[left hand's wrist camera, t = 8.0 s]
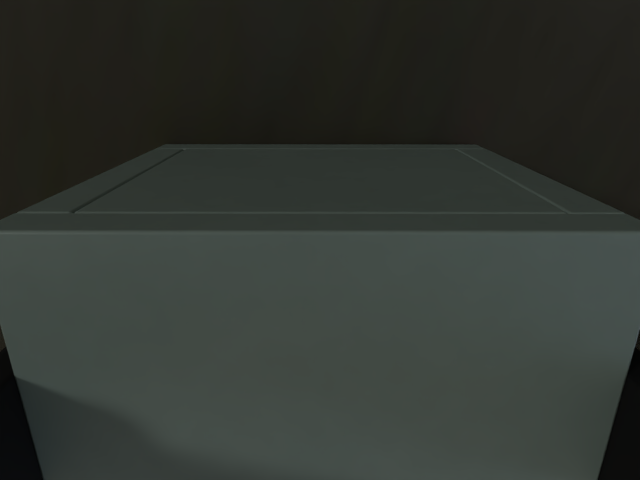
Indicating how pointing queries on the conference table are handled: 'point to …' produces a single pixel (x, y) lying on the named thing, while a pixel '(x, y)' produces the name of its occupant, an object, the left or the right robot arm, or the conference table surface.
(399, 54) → the conference table surface
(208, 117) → the conference table surface
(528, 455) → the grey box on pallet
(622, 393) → the left robot arm
